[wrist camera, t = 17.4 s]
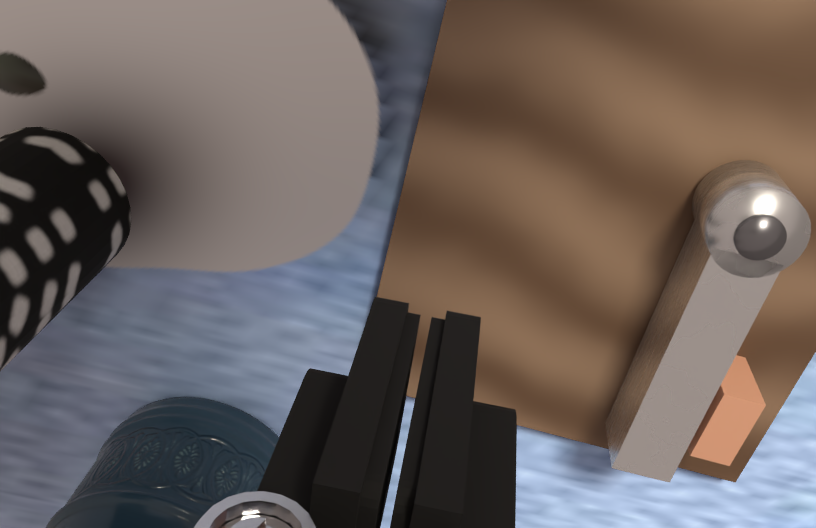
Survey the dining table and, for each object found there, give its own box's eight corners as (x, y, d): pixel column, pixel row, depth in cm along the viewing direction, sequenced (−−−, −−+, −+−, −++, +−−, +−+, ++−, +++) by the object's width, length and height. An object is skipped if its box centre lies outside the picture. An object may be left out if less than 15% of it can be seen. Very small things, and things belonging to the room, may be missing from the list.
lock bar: (712, 150, 34) (733, 183, 30) (801, 172, 33) (831, 207, 30) (596, 420, 41) (602, 469, 38) (667, 437, 41) (680, 489, 38)
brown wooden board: (519, -302, 28) (519, -306, 27) (1105, -153, 28) (1124, -153, 27) (359, 371, 44) (356, 382, 43) (731, 469, 43) (735, 482, 43)
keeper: (707, 347, 39) (724, 394, 35) (745, 357, 39) (765, 405, 35) (676, 406, 41) (689, 455, 37) (712, 416, 41) (729, 466, 37)
